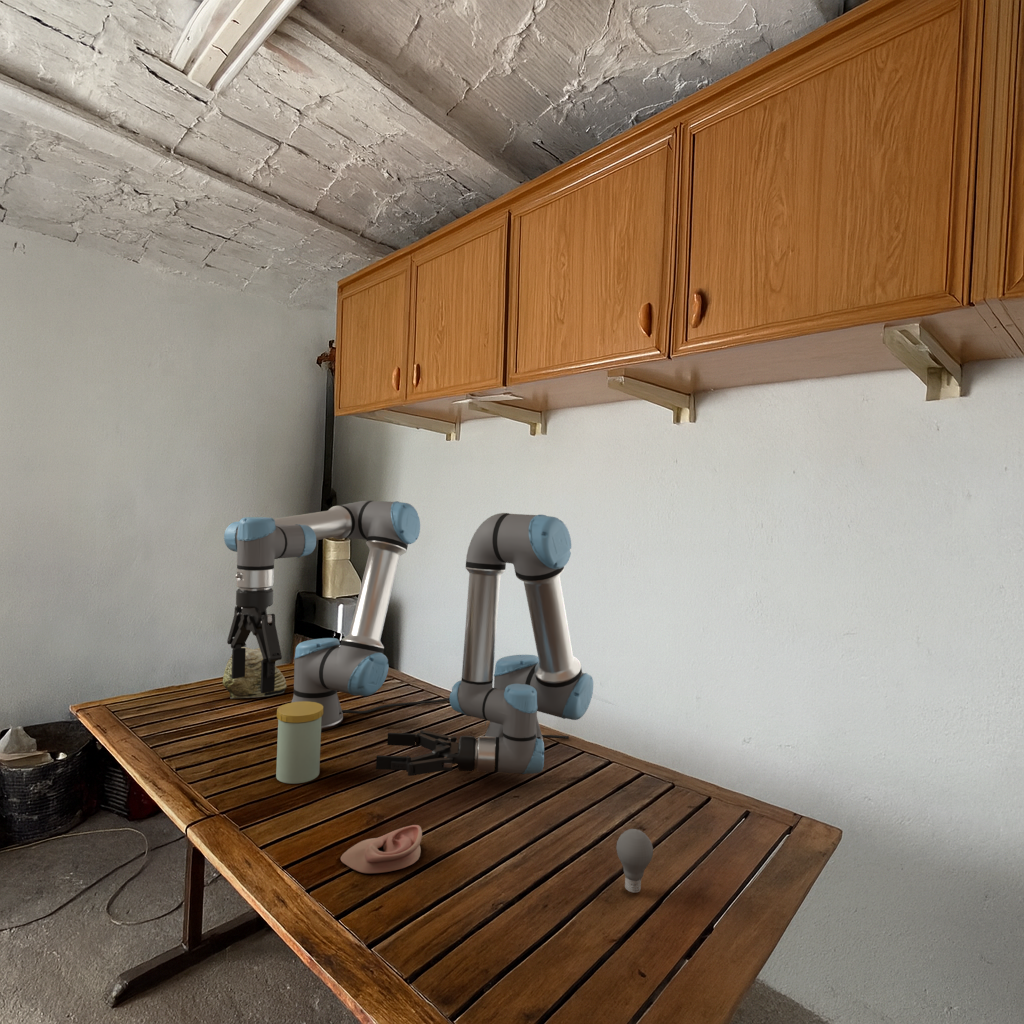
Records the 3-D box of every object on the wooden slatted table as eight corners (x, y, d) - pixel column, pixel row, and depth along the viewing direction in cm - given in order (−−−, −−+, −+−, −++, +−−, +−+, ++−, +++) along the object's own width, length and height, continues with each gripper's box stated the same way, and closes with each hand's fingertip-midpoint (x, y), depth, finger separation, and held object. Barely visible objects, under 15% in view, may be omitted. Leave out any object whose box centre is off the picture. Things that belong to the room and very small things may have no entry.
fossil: (218, 695, 195) (220, 647, 195) (278, 685, 208) (279, 640, 207) (228, 703, 189) (230, 653, 188) (289, 692, 201) (290, 645, 201)
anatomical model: (332, 845, 108) (361, 813, 119) (331, 868, 108) (361, 834, 119) (406, 857, 105) (428, 823, 117) (405, 880, 106) (428, 844, 117)
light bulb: (610, 879, 108) (613, 822, 108) (644, 879, 109) (647, 822, 109) (619, 902, 102) (622, 840, 102) (655, 901, 103) (658, 840, 103)
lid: (290, 706, 149) (290, 699, 149) (330, 710, 148) (331, 703, 148) (267, 720, 139) (268, 713, 139) (311, 724, 138) (311, 717, 138)
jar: (288, 764, 149) (291, 702, 149) (326, 768, 148) (328, 705, 147) (268, 781, 140) (270, 715, 140) (307, 785, 139) (310, 719, 138)
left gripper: (213, 582, 144) (210, 675, 144) (266, 597, 127) (263, 702, 128) (245, 579, 149) (243, 669, 150) (300, 594, 133) (297, 694, 133)
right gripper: (472, 795, 132) (370, 791, 131) (477, 748, 157) (391, 745, 156) (474, 759, 132) (371, 755, 131) (478, 718, 156) (392, 715, 156)
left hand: (252, 684), depth 139 cm, fingers open, 13 cm apart
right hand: (382, 750), depth 144 cm, fingers open, 13 cm apart
